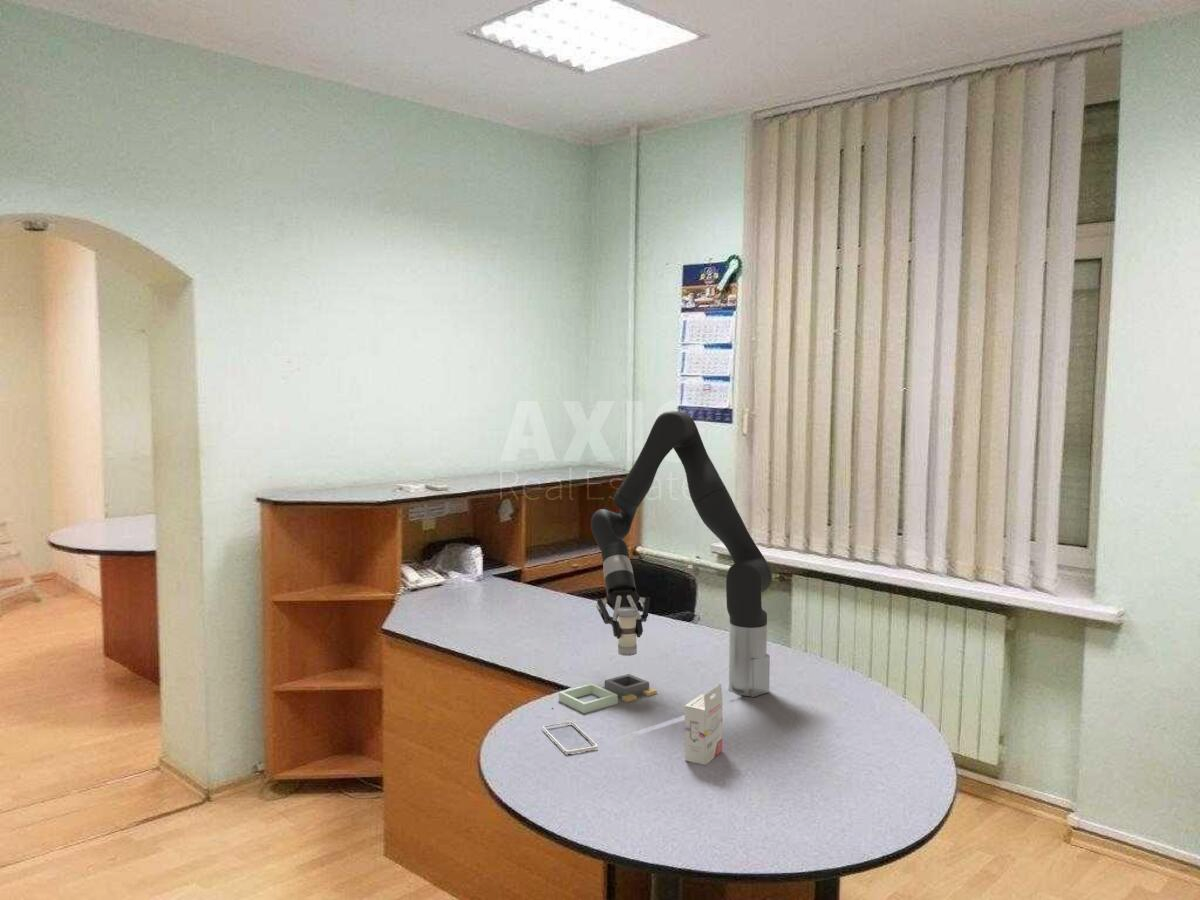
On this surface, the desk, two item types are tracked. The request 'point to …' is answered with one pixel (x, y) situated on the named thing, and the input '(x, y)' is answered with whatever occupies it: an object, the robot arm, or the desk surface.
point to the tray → (584, 707)
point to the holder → (629, 688)
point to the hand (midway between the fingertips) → (629, 636)
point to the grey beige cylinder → (627, 631)
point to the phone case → (575, 749)
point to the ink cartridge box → (704, 727)
